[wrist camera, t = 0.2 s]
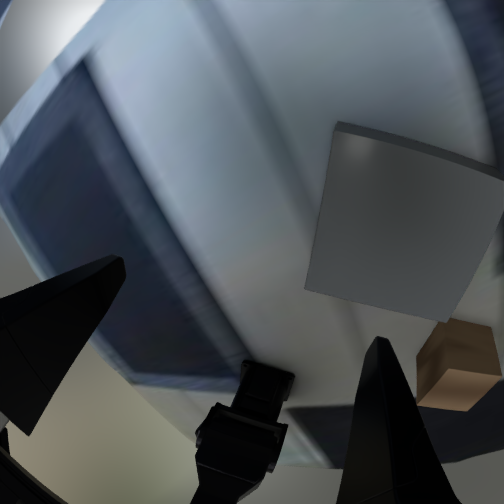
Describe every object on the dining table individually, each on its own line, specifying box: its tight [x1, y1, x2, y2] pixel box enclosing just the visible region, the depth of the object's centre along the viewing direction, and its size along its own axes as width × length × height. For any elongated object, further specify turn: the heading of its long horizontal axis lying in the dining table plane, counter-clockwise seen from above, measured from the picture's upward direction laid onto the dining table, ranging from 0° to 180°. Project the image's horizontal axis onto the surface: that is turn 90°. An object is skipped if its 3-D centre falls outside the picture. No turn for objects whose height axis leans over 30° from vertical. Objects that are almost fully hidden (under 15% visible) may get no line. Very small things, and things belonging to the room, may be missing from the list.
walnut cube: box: [416, 318, 502, 411], centre depth 23 cm, size 6×6×6 cm
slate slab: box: [304, 122, 504, 323], centre depth 20 cm, size 12×12×3 cm
